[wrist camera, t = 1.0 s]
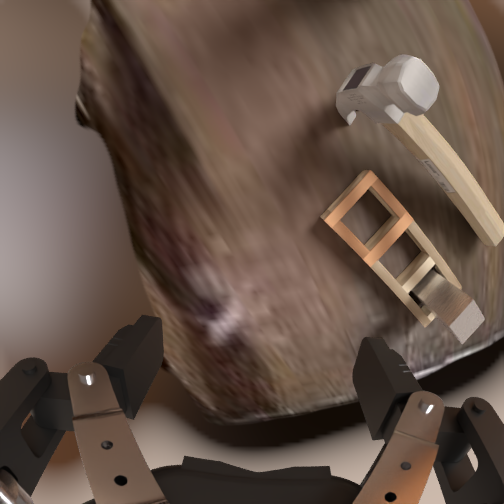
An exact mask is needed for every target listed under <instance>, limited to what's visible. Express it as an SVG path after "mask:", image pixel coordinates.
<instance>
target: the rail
mask: <svg viewBox="0 0 504 504" xmlns="http://www.w3.org/2000/svg"><path fill="white" fill-rule="evenodd" d="M368 189H369V190H370V192H371V193H372V194H373V195H374V196H375V197H376V198H377V199H378V200H379V201H380V202H381V204H382V205H383V206H384V207H385V208H386V209H387V210H388V212H389V213H390V214H391V216H390V218H389V219H388V220H387V221H386V222H385V223H384V224H383V225H382V226H381V227H380V229H379V230H378V231H377V232H376V233H375V234H374V235H373V236H372V237H371V238H370V239H369V240H368V241H367V243H366V244H365V245H363V244H362V243H361V242H360V241H359V240H358V238H357V237H356V236H355V235H354V234H353V233H352V232H351V231H350V230H349V229H348V228H347V227H346V226H345V225H344V224H343V223H342V222H341V221H340V219H341V218H342V217H343V216H344V215H345V213H346V212H347V211H348V210H349V209H350V208H351V207H352V206H353V205H354V204H355V203H356V202H357V201H358V199H359V198H360V197H361V196H362V195H363V194H364V193H365V192H366V191H367V190H368ZM320 217H321V218H322V219H323V220H324V221H325V222H326V223H327V224H328V225H329V226H330V227H331V228H332V229H333V230H334V231H335V232H336V233H337V234H338V235H339V236H340V237H341V238H342V239H343V240H344V241H345V242H346V243H347V244H348V245H349V246H350V247H351V248H352V249H353V250H354V251H355V252H356V253H357V254H358V255H359V256H360V257H361V258H362V259H363V260H364V261H365V262H366V263H367V264H368V265H369V266H370V267H371V269H372V270H373V271H374V272H375V273H376V274H377V275H378V276H379V277H380V278H381V279H382V280H383V281H384V282H385V283H386V285H387V286H388V287H389V288H390V289H391V290H392V291H393V292H394V293H395V294H396V295H397V297H398V298H399V299H400V300H401V301H402V302H403V303H404V304H405V305H406V307H407V308H408V309H409V310H410V311H411V312H412V313H413V315H414V316H415V317H416V318H417V319H418V320H419V321H420V322H421V324H422V325H423V326H424V327H426V326H427V325H428V324H429V323H430V322H431V321H432V320H433V319H434V318H435V316H434V315H433V314H432V313H431V312H430V311H429V310H428V309H427V308H426V307H425V306H423V307H422V308H421V309H420V307H419V306H418V305H417V304H416V303H415V301H414V300H413V299H412V298H411V297H410V296H409V294H408V293H409V292H410V291H411V290H412V289H413V288H414V287H415V286H416V284H417V283H418V282H419V281H420V280H421V279H422V278H423V277H424V276H425V275H426V274H427V272H428V271H429V270H430V269H431V268H432V267H434V268H435V270H436V271H437V272H438V274H439V275H441V276H442V277H443V278H445V279H446V280H448V281H449V282H450V283H452V284H453V285H455V286H456V287H457V288H459V289H461V288H462V286H461V285H460V283H459V282H458V280H457V279H456V277H455V276H454V274H453V273H452V271H451V270H450V268H449V267H448V266H447V264H446V263H445V261H444V260H443V258H442V257H441V256H440V254H439V253H438V252H437V250H436V249H435V247H434V246H433V245H432V243H431V242H430V241H429V239H428V238H427V237H426V236H425V234H424V233H423V232H422V230H421V229H420V228H419V227H418V225H417V224H416V223H415V222H414V219H413V218H412V217H411V216H410V214H409V213H408V212H407V211H406V210H405V208H404V207H403V206H402V205H401V204H400V202H399V201H398V200H397V199H396V198H395V197H394V195H393V194H392V193H391V192H390V191H389V190H388V189H387V187H386V186H385V185H384V184H383V183H382V182H381V181H380V180H379V179H378V177H377V176H376V175H375V174H374V173H373V172H372V171H371V170H363V171H362V172H361V173H360V174H359V175H358V176H357V177H356V179H355V180H354V181H353V182H352V183H351V184H350V185H349V186H348V187H347V188H346V189H345V190H344V192H343V193H342V194H341V195H340V196H339V197H338V198H337V199H336V200H335V201H334V202H333V203H332V204H331V205H330V207H329V208H328V209H327V210H326V211H325V212H324V213H323V214H322V215H321V216H320ZM404 231H406V233H407V234H408V235H409V236H410V238H411V239H412V240H413V241H414V242H415V244H416V245H417V246H418V247H419V249H420V250H421V252H420V253H419V254H418V255H417V257H416V258H415V259H414V260H413V261H412V262H411V263H410V264H409V265H408V266H407V268H406V269H405V270H404V271H403V272H402V273H401V274H400V275H399V276H398V277H397V278H396V279H394V277H393V276H392V275H391V274H390V273H389V272H388V271H387V270H386V269H385V267H384V266H383V265H382V264H381V263H380V262H379V261H378V259H379V258H380V257H381V256H382V255H383V254H384V253H385V252H386V251H387V250H388V249H389V247H390V246H391V245H392V244H393V243H394V242H395V241H396V240H397V239H398V238H399V236H400V235H401V234H402V233H403V232H404Z"/></svg>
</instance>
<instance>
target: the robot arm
mask: <svg viewBox="0 0 504 504" xmlns="http://www.w3.org/2000/svg"><path fill="white" fill-rule="evenodd" d="M163 354H164V349H163V332H162V320H161V318H159V317H152V316H146V315H142V316H141V317H140V318H139V319H138V320H137V322H136V323H135V324H134V325H127V326H125V327H123V328H122V329H120V330H118V332H117V333H116V334H115V335H114V336H113V338H112V339H111V340H110V341H109V343H108V344H107V345H106V346H105V347H104V348H103V350H102V351H101V352H100V353H99V354H98V356H97V357H96V358H95V359H94V360H93V362H83V363H79V364H77V365H75V366H73V367H72V368H71V369H70V370H69V372H68V373H56V372H49V370H48V367H47V364H46V363H45V362H44V361H43V360H41V359H39V358H26V359H23V360H21V361H19V362H18V363H17V364H15V366H14V367H13V368H12V369H11V370H10V371H9V372H8V373H7V374H6V375H5V376H4V377H3V378H2V379H1V380H0V504H34V503H33V500H32V499H31V495H32V493H33V491H34V489H35V487H36V485H37V483H38V481H39V479H40V477H41V476H42V474H43V472H44V470H45V468H46V466H47V464H48V462H49V461H50V459H51V457H52V455H53V453H54V451H55V450H56V448H57V446H58V444H59V442H60V441H61V439H62V437H63V435H64V434H65V432H66V431H75V435H76V439H77V443H78V447H79V451H80V455H81V458H82V462H83V465H84V468H85V472H86V475H87V478H88V481H89V484H90V487H91V490H92V493H93V496H94V499H92V500H89V501H87V502H85V503H83V504H418V503H419V500H420V498H421V496H422V493H423V491H424V488H425V486H426V483H427V480H428V478H429V475H430V472H431V470H432V467H434V470H435V473H436V476H437V478H438V481H439V484H440V487H441V490H442V493H443V496H444V499H445V502H446V504H504V424H503V423H502V421H501V419H500V418H499V416H498V415H497V413H496V412H495V410H494V409H493V407H492V406H491V405H490V404H489V403H488V402H487V401H485V400H484V399H481V398H478V397H470V398H468V399H466V400H465V402H464V403H463V405H462V407H461V408H455V407H446V406H444V403H443V401H442V400H441V399H440V398H439V397H438V396H437V395H435V394H433V393H430V392H427V391H423V390H422V389H421V387H420V385H419V384H418V382H417V380H416V379H415V377H414V375H413V374H412V372H410V369H409V367H408V366H406V363H405V361H404V359H403V358H402V356H401V355H399V354H398V353H397V352H395V351H394V350H393V349H389V347H388V346H387V344H386V342H385V341H384V339H383V338H378V337H365V338H364V339H363V340H362V342H361V346H360V349H359V352H358V356H357V359H356V362H355V365H354V369H353V376H352V377H353V384H354V387H355V390H356V392H357V395H358V398H359V401H360V404H361V407H362V409H363V412H364V415H365V418H366V421H367V425H368V428H369V431H370V433H371V437H372V440H380V439H384V441H385V444H384V446H383V447H382V449H381V451H380V453H379V454H378V456H377V458H376V459H375V461H374V463H373V465H372V466H371V468H370V470H369V471H368V473H367V474H366V476H365V478H364V479H363V481H362V482H361V484H360V485H358V484H356V483H354V482H352V481H350V480H347V479H344V478H341V477H337V476H332V475H331V472H330V467H329V466H318V467H317V466H315V467H291V468H285V469H280V470H273V471H267V472H253V471H249V470H246V469H243V468H239V467H236V466H233V465H230V464H226V463H223V462H220V461H213V460H207V459H200V458H194V457H188V456H184V459H183V463H182V465H171V466H164V467H159V468H156V469H152V470H150V469H149V467H148V465H147V463H146V461H145V459H144V457H143V455H142V453H141V451H140V449H139V446H138V444H137V442H136V440H135V438H134V435H133V433H132V431H131V429H130V426H129V424H128V422H127V419H126V418H130V419H134V418H135V416H136V414H137V412H138V410H139V408H140V406H141V404H142V402H143V399H144V398H145V396H146V394H147V392H148V390H149V388H150V386H151V384H152V382H153V380H154V378H155V376H156V374H157V372H158V370H159V368H160V366H161V364H162V361H163ZM29 413H31V416H30V418H29V419H28V420H27V422H26V423H25V425H24V426H23V428H22V429H21V425H22V422H23V421H24V419H25V418H26V417H27V415H28V414H29ZM471 448H472V449H473V451H474V453H475V455H476V457H477V459H478V468H477V470H476V472H475V470H474V468H473V466H472V464H471V462H470V459H469V457H468V455H467V453H468V452H469V450H470V449H471Z"/></svg>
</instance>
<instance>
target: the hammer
mask: <svg viewBox="0 0 504 504" xmlns="http://www.w3.org/2000/svg"><path fill="white" fill-rule="evenodd" d="M438 90H439V84H438V82H437V80H436V78H435V76H434V74H433V72H432V71H431V70H430V69H429V68H428V67H427V66H426V65H425V64H424V63H423V61H422V60H421V59H418V58H416V57H413V56H409V55H402V54H400V55H399V56H397V57H395V58H393V59H392V60H391V61H389V62H388V63H387V64H386V65H385V66H384V67H381V66H379V65H377V64H375V63H370V64H366V65H363V66H359V67H357V68H354V69H352V71H351V72H350V74H349V75H348V77H347V78H346V80H345V81H344V83H343V84H342V86H341V87H340V89H339V90H338V92H337V99H336V107H337V110H338V112H339V113H340V115H341V116H342V117H343V118H344V119H345V121H346V122H347V123H348V124H349V125H351V123H352V122H353V120H354V118H355V117H356V114H355V110H359V111H362V112H363V113H365V114H366V115H367V116H368V117H369V118H370V119H371V120H373V121H374V122H375V123H381V124H382V125H383V126H384V127H386V128H387V129H388V130H389V131H390V132H391V133H392V134H393V135H394V136H395V137H396V138H397V139H399V140H400V141H401V142H402V143H403V144H404V146H405V147H406V148H407V149H408V150H409V151H410V152H411V153H412V154H413V155H414V156H415V157H416V158H417V160H418V161H419V162H420V163H421V164H422V165H423V166H424V167H425V169H426V170H427V171H428V172H429V173H430V174H431V176H432V177H433V178H434V179H435V181H436V182H437V183H438V184H439V186H440V187H441V188H442V189H443V191H444V192H445V193H446V195H447V196H448V197H449V198H450V200H451V201H452V202H453V203H454V205H455V206H456V207H457V208H458V210H459V211H460V212H461V213H462V215H463V216H464V217H465V219H466V220H467V222H468V223H469V224H470V226H471V227H472V229H473V230H474V231H475V233H476V234H477V236H478V237H479V238H480V240H481V241H482V242H483V243H484V245H487V246H497V244H498V243H499V242H500V241H501V239H502V238H503V236H504V223H503V222H502V220H501V218H500V217H499V215H498V214H497V212H496V211H495V209H494V208H493V206H492V205H491V203H490V202H489V200H488V198H487V197H486V195H485V194H484V192H483V191H482V189H481V188H480V186H479V185H478V183H477V182H476V180H475V179H474V177H473V176H472V174H471V173H470V172H469V170H468V169H467V167H466V166H465V165H464V163H463V162H462V161H461V159H460V158H459V157H458V155H457V154H456V153H455V151H454V150H453V149H452V148H451V146H450V145H449V144H448V143H447V142H446V140H445V139H444V138H443V137H442V136H441V134H440V133H439V132H438V131H437V130H436V129H435V128H434V126H433V125H432V124H431V123H430V122H429V121H428V120H427V118H426V117H425V116H424V115H423V113H425V112H426V111H427V110H428V109H429V108H430V106H431V105H432V104H433V103H434V102H435V101H436V98H437V94H438Z"/></svg>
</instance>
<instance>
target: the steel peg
mask: <svg viewBox="0 0 504 504" xmlns="http://www.w3.org/2000/svg"><path fill="white" fill-rule="evenodd" d="M411 291H412V292H413V294H414V295H415V296H416V297H417V298H418V300H419V301H420V302H421V303H422V304H423V305H424V306H425V307H426V308H427V309H428V310H429V311H430V312H431V313H432V314H433V315H434V316H435V317H436V318H437V319H438V320H439V321H440V322H441V323H442V324H443V325H444V326H445V327H446V328H447V329H448V330H449V331H450V332H451V333H452V334H453V335H454V336H455V337H456V338H457V339H458V340H459V341H460V342H461V344H463V343H464V342H465V341H466V340H467V339H468V338H469V337H470V335H471V334H472V333H473V332H474V331H475V330H476V329H477V328H478V327H479V325H480V324H481V323H482V322H483V321H484V320H485V318H484V316H483V315H482V313H481V311H480V310H479V308H478V306H477V304H476V303H475V301H474V300H473V299H472V298H471V297H470V296H468V295H467V294H466V293H464V292H463V291H461V290H460V289H459V288H457V287H456V286H455V285H453V284H452V283H450V282H449V281H448V280H446V279H445V278H443V277H442V276H441V275H439V274H438V273H436V272H435V271H433V270H432V269H430V270H429V271H428V272H427V274H426V275H425V276H424V277H423V278H422V279H421V280H420V281H419V282H418V283H417V284H416V286H415V287H414V288H413V289H412V290H411Z"/></svg>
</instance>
